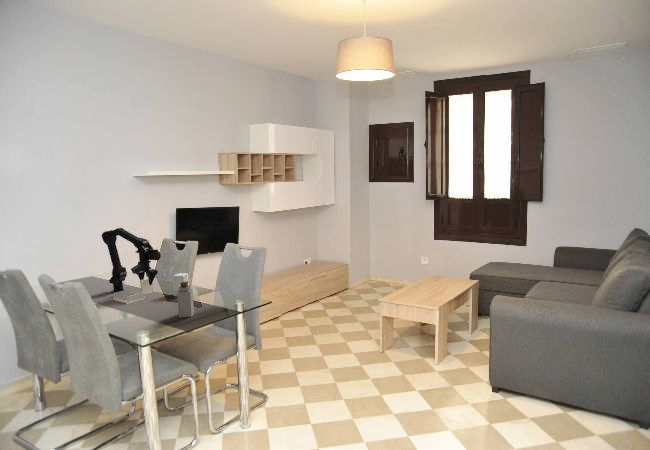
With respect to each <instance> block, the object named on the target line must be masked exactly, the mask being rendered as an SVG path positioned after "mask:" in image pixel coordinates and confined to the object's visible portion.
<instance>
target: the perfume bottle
mask: <svg viewBox="0 0 650 450" xmlns="http://www.w3.org/2000/svg"><path fill="white" fill-rule="evenodd" d="M180 284H181V286H180V287H179V288H178V289H179V291H178V292H177V296H176V298H177V310H178V311H177V312H178V318H190V317H193V316H194V313H195V307H194V305H195V304H194V294H193V288H191V284H189V285H188V282H181V283H180Z"/></svg>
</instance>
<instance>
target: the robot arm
mask: <svg viewBox="0 0 650 450" xmlns="http://www.w3.org/2000/svg"><path fill="white" fill-rule="evenodd" d="M118 236H119V237H121V238H123V239H124V240H126V241H128V242H129V243H132V245H133V246H134V247H135V248H136V249H137V250H136V251H135V254H138V258H139V259H138V260H139V261H138V262H137V265H135V266H133V267H131V268H130V270H131V273H132V274H134V275H136V276H138V279H139V281H140V280H143V279H145V276H146V278H148V280H149V285H152V283H154V279H155V277H156V276H157V275H158V273H159V271H158V269H156V268H152V267H151V266H150V264H151V263H152V262H151V261H160V259H161V256H162V255H161V252H160V251H159V249H157V248H156V249H154V247H153V246H152V245H151V243H150V241H149V240H148V239H146V238H144V237H138V236H136V235H135V234H133V233H131V232H129V231H127V230H126V229H124V228H123V227H118V228H117V227H116V228H115V229H111V230H106V231H103V232H102V234H101V239H102V242H103V243H104V244H105V245H106V246H107V249H108V253H109V257H110V261H111V265H112V271H111V275H112V276H111V277H110V279H109V280H108V282H109V284H112V287H113V289H112V290H111V292H112V293H116V292H120V291H124V290H125V289H124V285H123V281H125V280H126V278H127V276H128V275H127V274H128V272H127V268H126V267H124V266H123V265H122V263H121V260H120V256H119V251H118V248H117V244H116V243H117V237H118Z"/></svg>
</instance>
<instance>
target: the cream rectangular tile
mask: <svg viewBox="0 0 650 450" xmlns="http://www.w3.org/2000/svg"><path fill="white" fill-rule="evenodd" d="M153 283H154V282H152V285H149V280H148V277H146V278H144V279H143V280H140V279H139V284H140V285H139V286H140V293H143V292H144V295H148V294H150V293H151V294H152V293H154V285H153Z"/></svg>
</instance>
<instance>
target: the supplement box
mask: <svg viewBox="0 0 650 450" xmlns="http://www.w3.org/2000/svg"><path fill="white" fill-rule="evenodd" d="M189 277H190V276H189V273H187V272H186V273H180V272H179V273H176V274H174V275H172V289H173V290H172V291H173V296H174V297H177V292H178V291H179V289H178V288H179V287H180V286H181V284H180V283H181V282H188V285H190V281H189V280H190V279H189Z"/></svg>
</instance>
